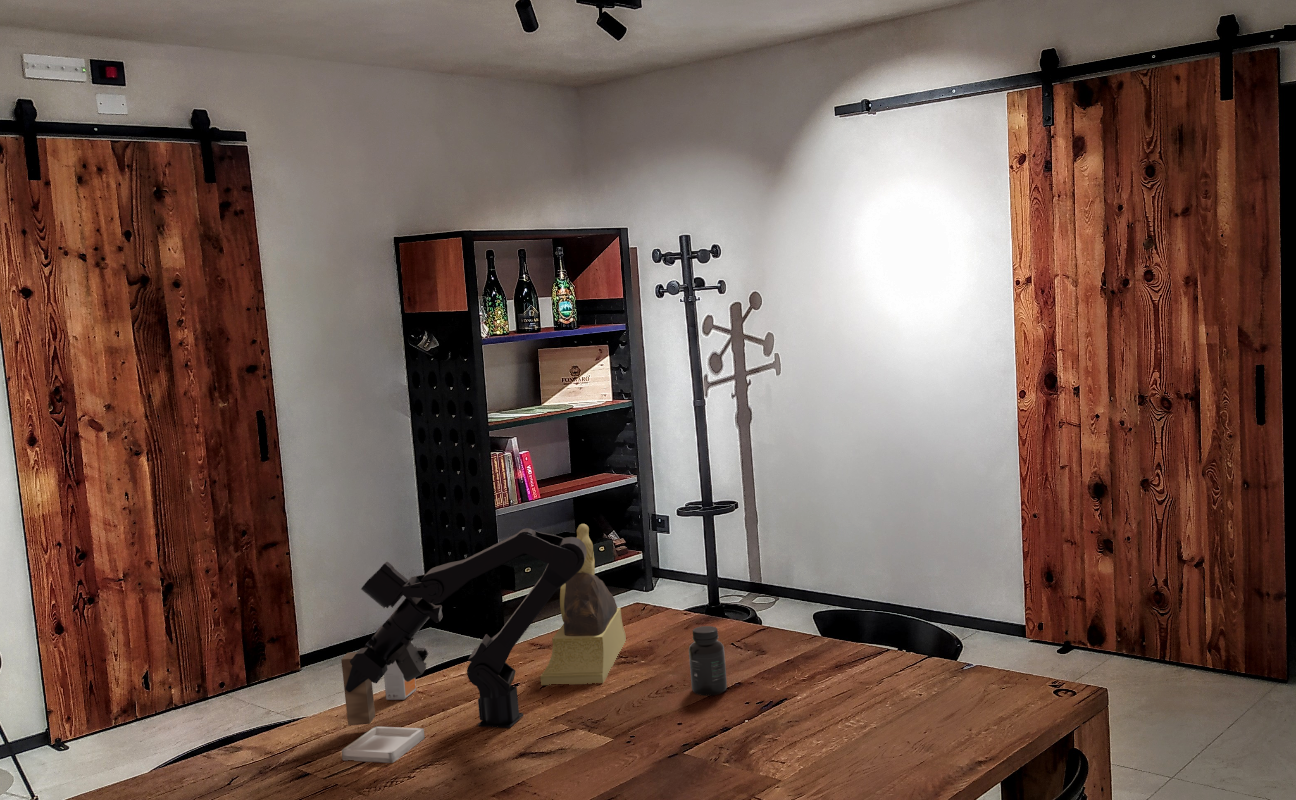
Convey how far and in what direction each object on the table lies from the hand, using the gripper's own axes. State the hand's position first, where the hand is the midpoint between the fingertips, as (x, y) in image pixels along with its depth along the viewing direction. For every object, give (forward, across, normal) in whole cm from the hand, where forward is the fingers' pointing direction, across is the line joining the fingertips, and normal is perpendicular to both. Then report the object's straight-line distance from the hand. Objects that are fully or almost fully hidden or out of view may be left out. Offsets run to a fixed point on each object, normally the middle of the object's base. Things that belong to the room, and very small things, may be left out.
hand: (350, 686), depth 203 cm
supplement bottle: (-41, +9, -54) cm, 68 cm away
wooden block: (+4, 0, -6) cm, 7 cm away
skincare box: (+4, +20, -9) cm, 22 cm away
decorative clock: (-22, +32, -36) cm, 53 cm away
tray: (+1, -9, -12) cm, 15 cm away
